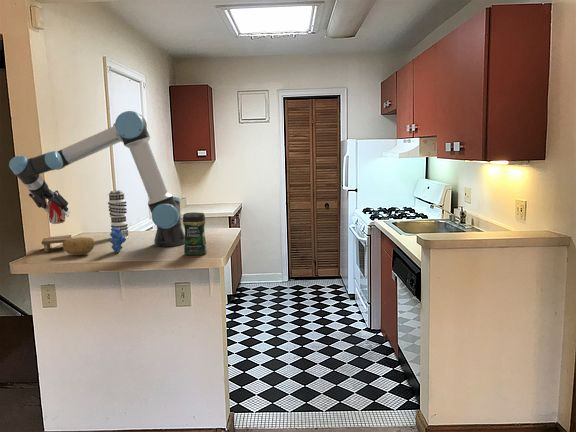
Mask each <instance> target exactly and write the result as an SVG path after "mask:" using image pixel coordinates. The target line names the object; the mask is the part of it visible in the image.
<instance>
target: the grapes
mask: <svg viewBox="0 0 576 432" xmlns="http://www.w3.org/2000/svg"><path fill="white" fill-rule="evenodd" d="M120 232H121V231H120V229H119V228H116V227H114V228H113V229H112V230H111V229H110V234H109V235H110V237H111V239H110V241H109V242H110V243H111V249H113V251H114V252H115V253H117V254H118V253H120V251H122V249H123V246H122V244H123V243H125V242H126V240H127V238H126V239H125V237H123V235H122V234H121V233H120Z"/></svg>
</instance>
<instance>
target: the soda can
mask: <svg viewBox="0 0 576 432" xmlns="http://www.w3.org/2000/svg"><path fill="white" fill-rule="evenodd" d="M47 204H48V212H47V213H48V220H49V223H50V224H52V225H57V224H58V225H59V224H63V223H65V222H66V215H65V214H64V213H63V211H62V210H61V209H60V208H61V207H59V206H58V205H56V204H55V203H54V202H52V201H49V200H48V199H47Z"/></svg>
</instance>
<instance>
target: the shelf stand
mask: <svg viewBox="0 0 576 432" xmlns="http://www.w3.org/2000/svg"><path fill="white" fill-rule="evenodd" d="M47 237H48V238H44V237H43V238H42V241H41V245H43V250H44V253H49V252H50V250H49V249H51V245H52V244H63V242H64V241H65V240H67V239H71V238H72V235H71V234H69V235H68V234H66V235H57V236H56V235H55V236H47Z"/></svg>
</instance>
